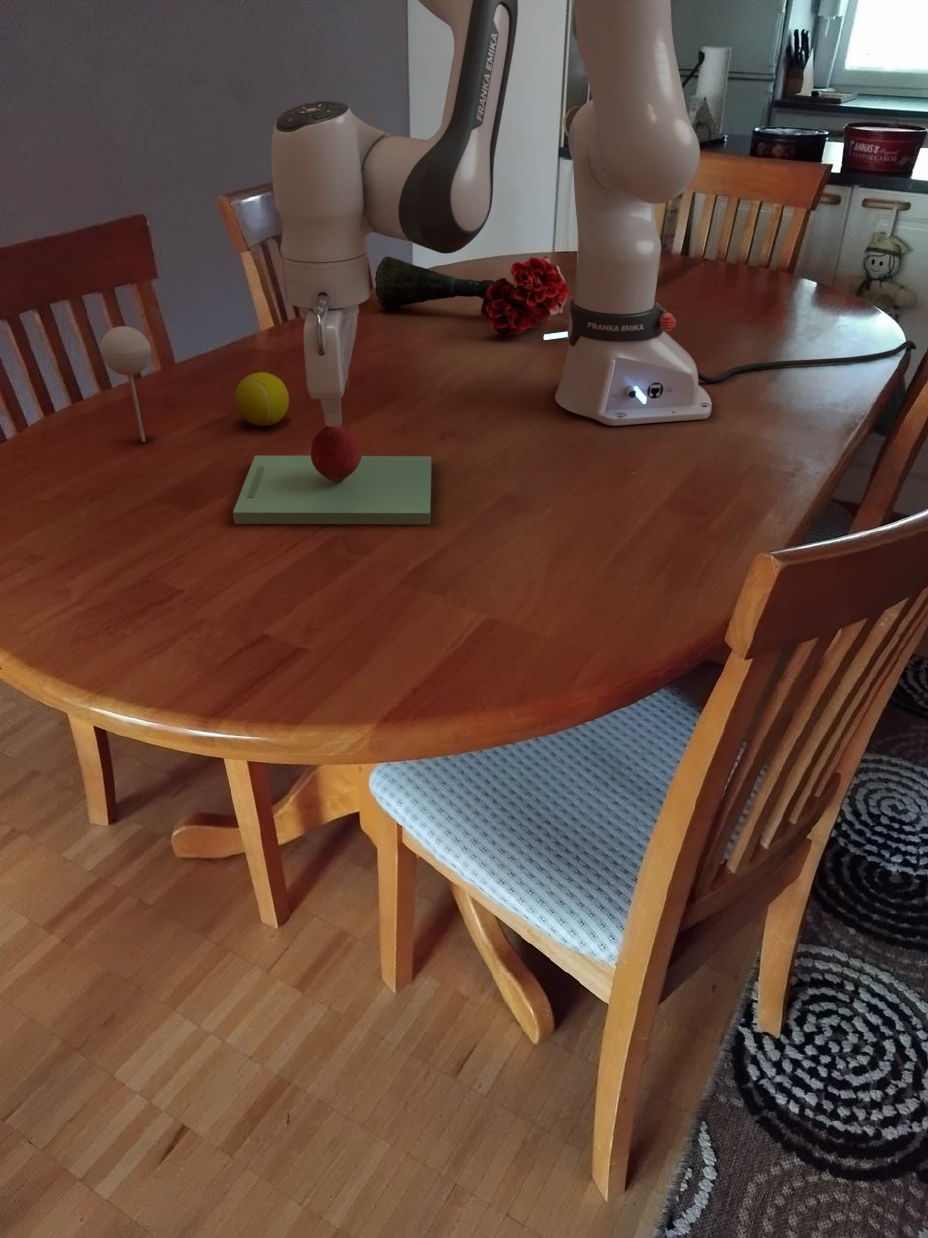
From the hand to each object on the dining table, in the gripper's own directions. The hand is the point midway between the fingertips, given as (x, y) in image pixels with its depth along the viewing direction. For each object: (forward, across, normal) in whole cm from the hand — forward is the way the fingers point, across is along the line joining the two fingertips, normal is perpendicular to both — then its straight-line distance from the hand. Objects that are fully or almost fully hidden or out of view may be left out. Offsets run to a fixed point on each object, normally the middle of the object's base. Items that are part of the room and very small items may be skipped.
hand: (337, 407), depth 105 cm
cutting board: (+11, 0, +1) cm, 11 cm away
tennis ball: (+11, +21, +13) cm, 27 cm away
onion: (+10, 0, +1) cm, 10 cm away
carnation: (+12, +67, -17) cm, 70 cm away
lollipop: (+11, +15, +28) cm, 33 cm away
